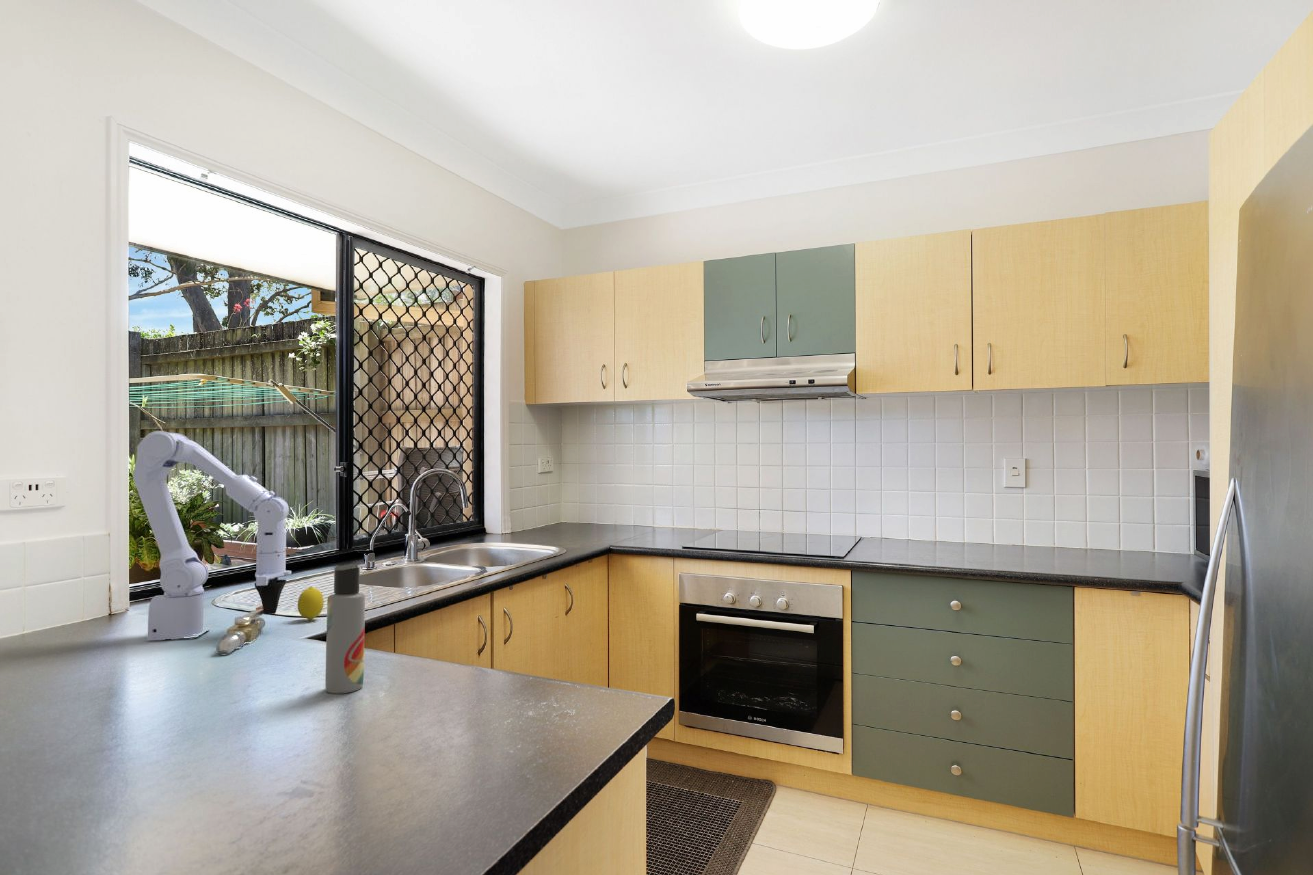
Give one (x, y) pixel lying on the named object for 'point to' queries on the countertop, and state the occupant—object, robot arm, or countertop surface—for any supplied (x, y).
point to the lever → (249, 616)
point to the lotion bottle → (345, 632)
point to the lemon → (310, 603)
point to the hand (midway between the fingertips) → (270, 613)
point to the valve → (240, 635)
